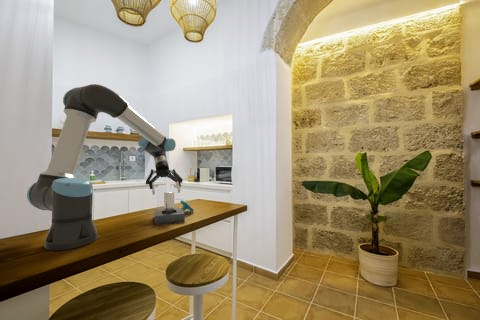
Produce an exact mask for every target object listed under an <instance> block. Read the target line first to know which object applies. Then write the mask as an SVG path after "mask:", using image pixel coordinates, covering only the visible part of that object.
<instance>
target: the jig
mask: <svg viewBox="0 0 480 320" xmlns="http://www.w3.org/2000/svg"><path fill="white" fill-rule="evenodd" d="M185 216H186V214H185V211H184V212H183V210H182V207H174V213H166V214H164V208H161V209H154V225H164V224H165V225H166V224H172V223H173V224H174V223H184V222H186V221H185V218H186V217H185Z"/></svg>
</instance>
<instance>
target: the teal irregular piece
mask: <svg viewBox="0 0 480 320" xmlns="http://www.w3.org/2000/svg"><path fill="white" fill-rule="evenodd" d="M179 203H181V205H182V207H181V208H182V210H183V212H184V213H185V211H186V210H189V211H190V212H192V213H194V212H195V210H194V209H193V208H192V207H191V205H189V203H187V202H186V201H184V200H180V202H179Z"/></svg>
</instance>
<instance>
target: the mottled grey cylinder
mask: <svg viewBox="0 0 480 320" xmlns="http://www.w3.org/2000/svg"><path fill="white" fill-rule="evenodd" d="M163 198H164V199H163V209H164V214H166V213H174V208H175V192H174V191H165V192H164V193H163Z"/></svg>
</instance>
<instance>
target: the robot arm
mask: <svg viewBox="0 0 480 320" xmlns="http://www.w3.org/2000/svg"><path fill="white" fill-rule="evenodd" d="M62 104H63V105H64V109H63V113H64V114H65V116H66V117H65V119H64V122H63V126H62V127H61V131H60V134H59V136H58V139H57V142H56V144H55V147H54V150H53V153H52V156H51V159H50V160H49V164H48V166H47V169H46V170H45V171H42V172H40V173H39V176H38V178H37V181H36V182H34V183H33V184H31V186H29V188H28V190H27V193H26V198H27V201H28V203H29V204H30V205H31V206H32V207H34V208H37V209H39V210H41V211H49V212H51V225H50V227H49V229H48V232H47V233H46V237H45V239H44V245H43V246H44V249H45V250H47V251H53V252H55V251H64V250H65V251H67V250H72V249H76V248H81V247H83V246H86V245H90V244H91V243H93V242H95V241H96V240H97V239H98V230H97V228H96V225H95V222H94V220H93V195H94V194H93V192H94V188H93V187H94V185H93V182H92V181H91V180H90V179H87V178H83V177H82V178H81V177H79V178H78V177H77V176H76V175H75V172H76V169H77V166H78V163H79V160H80V156H81V154H82V150H83V148H84V144H85V142H86V139H87V135H88V133H89V131H90V130H89V129H90V126H91V124H92V123H95V122H96V121H97V118H98V115H99V113H103V114H107V115H109V116H110V117H112V118H113V119H118V120H120V121H121V122H122V123H123V124H125V125H127V126H128V127H129V128H130V129H132V130H134V132H136V133H137V134H138V135H140V136H141V137H140V139H138V141H137V142H138V143H137V144H138V146H139V148H141V149H142V150H144V152H146V153H147V154H149V155H150V156H152V157H153V160H154V165H155V167H154V168H155V170H154V169H150V173H149V175H148V177H147V178H146V180H145V185H148V187H149V190H151V192H152V195H153V196H154V195H155V192H156V189H155V183H156V180H158V179H159V178H167V179H170V180H171V181H173V182H175V184H176V189H177V193H178V194H180V192H181V186H182V183H183V178H182V177H181V175H180V174H178V173H177V171H176V169H175V168H173V169H170V166H169V162H168V157H167V153H168V152H172V151H174V150H175V149H176V146H177V143H176V140H175V139H174V138H172V137H167V136H165V135H164V134H162V133H161V132H160V131H159V130H158V129H157V128H156V127H154V126H153V125H152V124H151V123H150V122H148V121H147V119H145V118H144V117H143V116H142V115H140V114H139V113H137V111H135V110H134V109H133V108H132V107H131V106H130V105H129V102H128V101H127V100H126V99H125V98H123V96H121V95H120V94H119V93H117V92H115V91H114V90H112V89H110V88H108V87H107V86H104V85H102V84H101V85H100V84H95V83H94V84H88V85H84V86H77V87H73V88H72V89H70V90H68V91H66V92H65V94H64V95H63V98H62ZM166 152H167V153H166ZM154 174H155V176H154V177H153V175H154Z"/></svg>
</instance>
